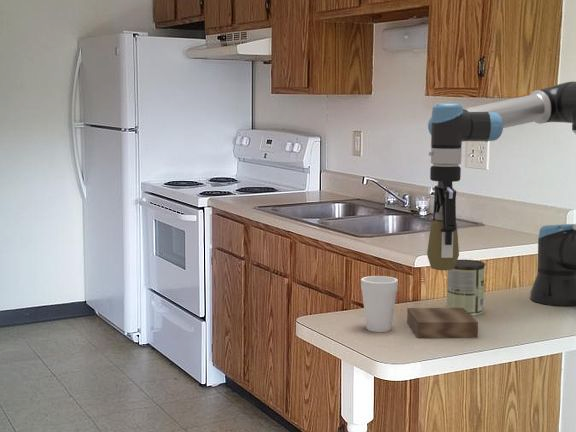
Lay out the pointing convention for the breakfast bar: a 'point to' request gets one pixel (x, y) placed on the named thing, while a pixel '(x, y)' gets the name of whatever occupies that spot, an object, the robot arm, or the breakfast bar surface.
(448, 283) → the coffee can
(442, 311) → the walnut base
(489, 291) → the breakfast bar surface
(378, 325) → the foam cup
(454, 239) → the squeeze bottle
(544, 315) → the breakfast bar surface
